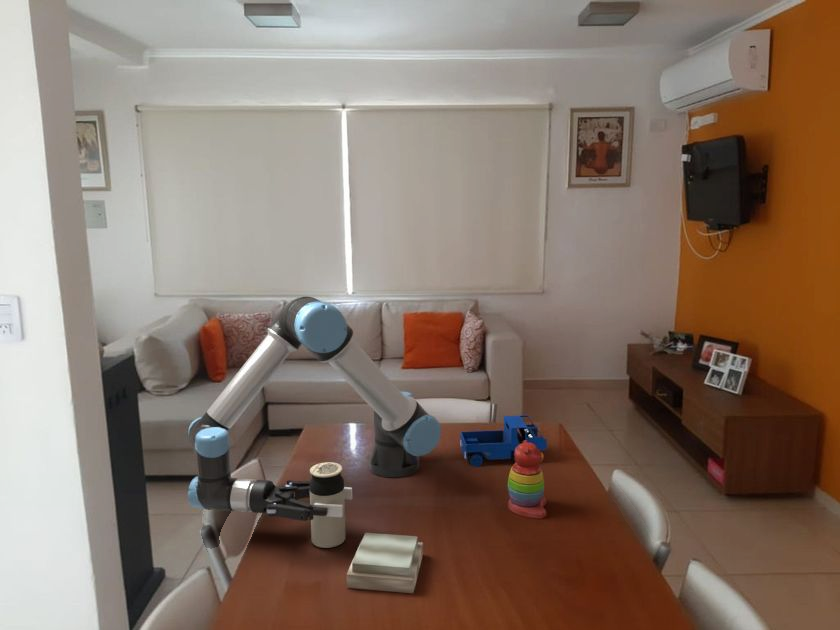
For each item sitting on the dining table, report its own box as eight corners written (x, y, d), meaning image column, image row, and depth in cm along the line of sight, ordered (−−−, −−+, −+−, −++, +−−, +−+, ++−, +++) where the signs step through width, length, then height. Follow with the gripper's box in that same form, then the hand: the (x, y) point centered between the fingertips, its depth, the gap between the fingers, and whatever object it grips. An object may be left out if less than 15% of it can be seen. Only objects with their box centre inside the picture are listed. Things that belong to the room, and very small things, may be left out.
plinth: (362, 550, 139) (362, 530, 138) (422, 554, 137) (422, 534, 136) (346, 587, 125) (346, 565, 124) (413, 593, 123) (413, 571, 122)
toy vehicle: (465, 468, 182) (465, 430, 180) (460, 452, 194) (460, 416, 192) (546, 464, 184) (548, 427, 182) (536, 449, 196) (537, 414, 194)
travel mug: (351, 534, 145) (349, 464, 142) (336, 551, 138) (333, 478, 135) (321, 528, 148) (319, 459, 145) (305, 545, 141) (302, 473, 137)
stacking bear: (546, 520, 152) (548, 453, 148) (505, 516, 154) (507, 450, 150) (546, 499, 162) (548, 437, 159) (508, 496, 164) (509, 434, 161)
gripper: (271, 490, 154) (358, 496, 151) (236, 533, 134) (335, 540, 131) (270, 463, 153) (357, 468, 150) (234, 502, 133) (334, 508, 130)
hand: (347, 502), depth 140 cm, fingers closed on travel mug, 8 cm apart
